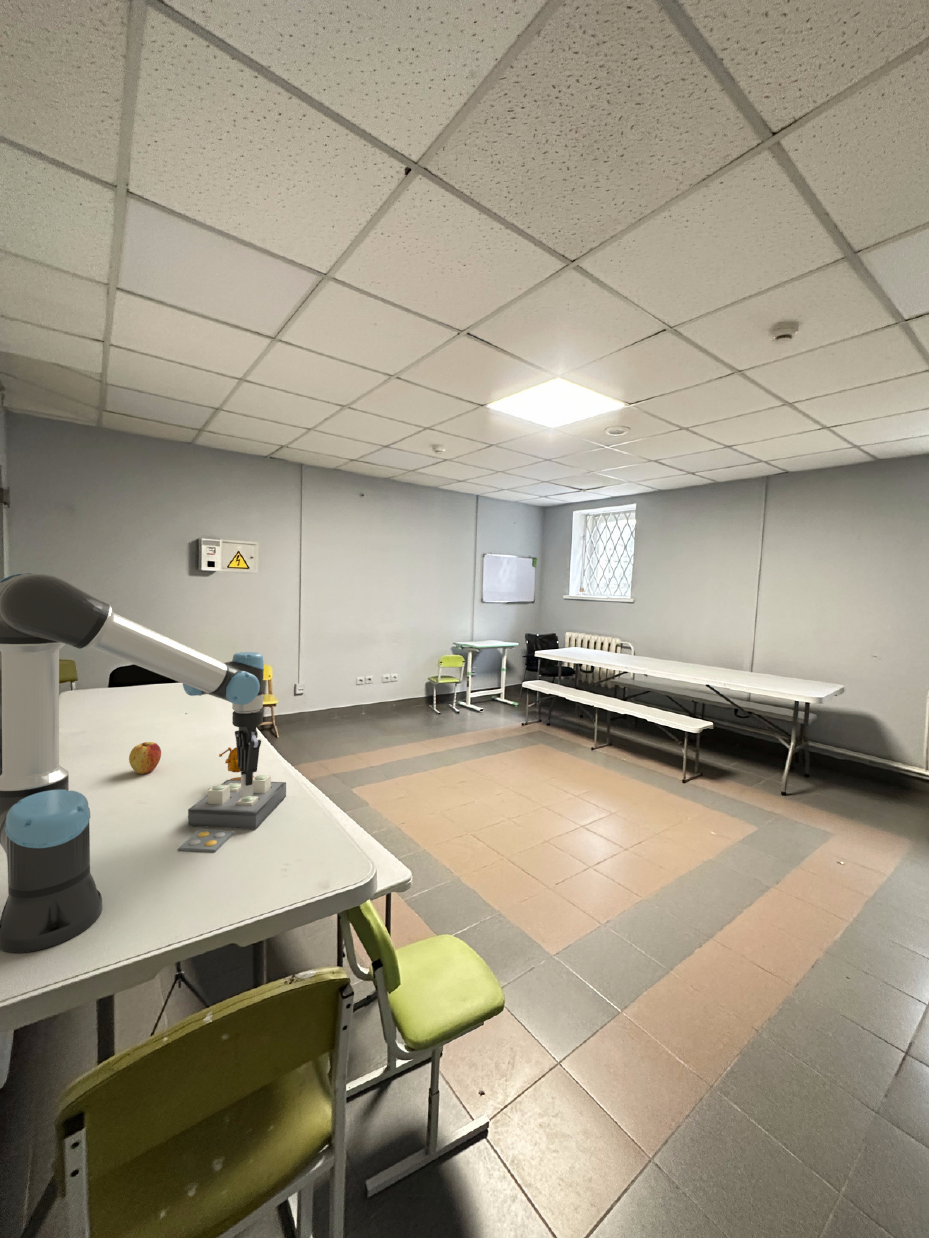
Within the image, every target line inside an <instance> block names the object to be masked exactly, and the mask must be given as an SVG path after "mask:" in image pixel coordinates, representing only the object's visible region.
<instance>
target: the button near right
mask: <svg viewBox="0 0 929 1238" xmlns="http://www.w3.org/2000/svg"><path fill="white" fill-rule="evenodd" d="M257 801H258V796H248V797H244V798H243V797H242V798H241V799H240V800H239V801H238V802H237V805H241V806H253V805H254V804H255V803H256V802H257Z"/></svg>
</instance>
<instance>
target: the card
mask: <svg viewBox="0 0 929 1238" xmlns="http://www.w3.org/2000/svg"><path fill="white" fill-rule="evenodd" d="M234 834H235V831H234V830H223V829H222V830H219V829H202V828H201V829H198V830H197V831H196V832H195V833H193V835H192V836H190V837H189V838H188V839H187V840H186V841H184V843H182V844H181V845H180V846H178V848H177V850H178V851H188V852H190V851H191V852H205V853H206V852H211V853H216V852H217V851H218V850H220V848H221V847H222V846H223V845H224V844H225V843H226V842H227V841H229V839H230V838H232V836H233V835H234Z"/></svg>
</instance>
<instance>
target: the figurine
mask: <svg viewBox="0 0 929 1238" xmlns="http://www.w3.org/2000/svg"><path fill="white" fill-rule="evenodd" d="M228 751H229V754H228V758H226V760H225V763H224V764H227V772H231V773H241V772H242V771H240V767H238V760H237V747H234V748H233V749H232V748H231V747H228V748H227V749H226V750H224V751H222V752H221V753H219V755H218V757H221V758H222V757H223V755H224V754H226V753H227V752H228ZM254 777H255V776H254V775H253V778H254ZM229 780H241V776H240V777H239V776H238V777H237V776H236V777H231V778H230V779H229Z"/></svg>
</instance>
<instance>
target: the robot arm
mask: <svg viewBox="0 0 929 1238" xmlns="http://www.w3.org/2000/svg"><path fill="white" fill-rule="evenodd" d="M65 645H68V646H70V647H73V648H77V649H79V650H86V649H88V648H92V649H94V650H96V651H99V652H103V653H104V654H107V655H109V656H112V657H115V658H117V659H120V660H122V661H125V662H127V663H130V664H132V665H135V666H137V667H141V668H143V669H146V670H148V671H150V672H152V673H155V674H158V675H160V676H163V677H165V678H169V679H171V680H174V681H175V682H179V683H181V684H182V688H183V690H184V692H185V693H186V695H188V696H191V697H194V696H201V697H202V696H203V695H209V696H211V697H215V698H218V699H221V700H224V701H227V702H228V703H231V705H232V706H231V707H232V710H233V711H232V720H231V721H232V725H233V726H234V727H235V728H236V727H237V728H238V730H235V731H234V736H235V742H236V743H235V744H236V746H235V747H236V748H237V760H238V767H240V771H242V772H240V777H241V797H243V798H244V797H248V796H252V795H253V776H254V773H257V772H258V764H259V756H260V748H261V745H262V739H258V735H259V733H258V731H257V727H259V726H260V725H262V724H263V722H264V715H263V714H264V710H263V707H264V706H263V705H264V702H263V701H264V699H265V695H264V672H265V667H264V665H265V664H264V656H263V655H262V653H260V652H257V651H256V652H255V651H242V652H241V651H240V652H236V653H234V654H233V656H232V659H231V661H227V662H224V661H221V660H218V659H216V658H214V657H212V656H210V655H207V654H205V653H203V652H201V651H199V650H197V649H194V648H192V647H190V646H188V645H186V644H183V643H182V642H179V641H177V640H175V639H173V638H170V637H168V636H166V635H164V634H162V633H160V632H157V631H155V630H152V629H151V628H148V627H146V626H144V625H142V624H139V623H137V622H135V621H133V620H130V619H129V618H127V617H124V616H121V615H119V614H117V613H115V612H114V610H113V608H112V605H110V604H108V603H106V602H104V601H103V600H100V599H98V598H96V597H94V596H93V595H91V594H89V593H87V592H85V591H83V590H81V589H80V588H79V587H76V586H75V585H74V584H72V583H70V582H68V581H66V580H64V579H62V578H59V577H57V576H54V575H48V574H44V573H43V574H41V573H39V574H38V573H30V572H27V573H17V574H12V575H11V574H10V575H8V576H6V577H4V578H2V579H0V653H1V750H2V751H1V752H2V753H1V756H2V757H1V758H2V759H1V760H2V763H1V764H2V767H1V770H2V773H1V774H0V846H1V847H2V849H3V851H4V852H5V854H6V855H5V856H6V863H7V884H8V885H7V886H8V887H7V889H8V891H7V893H8V895H7V898H6V902H5V904H4V906H3V909H2V912H1V915H0V950H1V951H3V952H7V953H13V954H16V953H17V954H20V953H29V952H36V951H39V950H45V949H47V948H50V947H53V946H56V945H59V944H62V943H64V942H66V941H68V940H70V939H72V938H75V937H76V936H78V935H79V934H81V933H83V932H84V931H86V930H87V929H88V928H89V927H91V926H92V925H93V924H94V923H96V921H97V920H98V919H99V918H100V916H101V915H102V912H103V897H102V894H101V892H100V891H99V889H98V888H97V885H96V883H95V880H94V877H93V876H92V873H91V849H90V848H91V843H90V842H91V841H90V837H91V834H90V819H91V810H90V807H89V802H88V799H87V797H86V796H85V795H84V794H82V793H81V792H79V791H76V790H69V784H70V783H69V771H68V769H66V768H64V767H63V766H61V765H60V650H61V649H62V648H63V647H64V646H65Z"/></svg>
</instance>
